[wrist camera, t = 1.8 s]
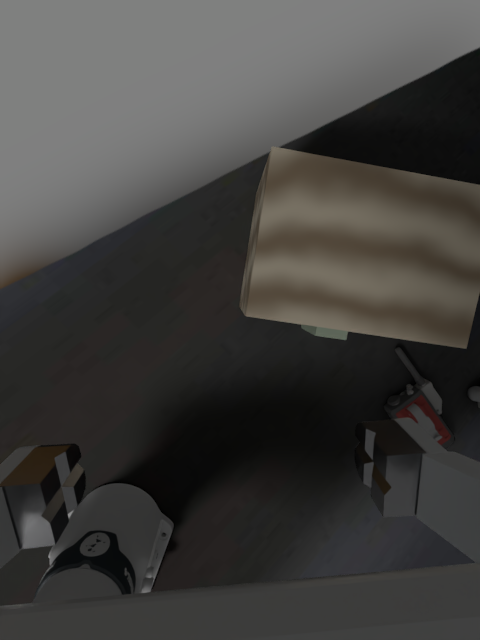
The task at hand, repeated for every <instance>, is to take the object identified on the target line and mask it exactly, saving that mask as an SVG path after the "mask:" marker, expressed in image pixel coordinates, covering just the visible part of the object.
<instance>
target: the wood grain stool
mask: <svg viewBox="0 0 480 640" xmlns="http://www.w3.org/2000/svg"><path fill="white" fill-rule="evenodd" d="M479 293H480V185H477V184H472V183H467V182H461V181H456V180H450V179H445V178H440V177H434V176H429V175H423V174H418V173H413V172H407V171H402V170H396V169H391V168H386V167H380V166H375V165H369V164H364V163H359V162H353V161H348V160H342V159H337V158H332V157H326V156H321V155H315V154H310V153H305V152H299V151H294V150H288V149H283V148H278V147H272V148H271V151H270V154H269V157H268V160H267V163H266V166H265V169H264V172H263V175H262V178H261V181H260V184H259V187H258V190H257V193H256V199H255V206H254V213H253V219H252V226H251V232H250V239H249V245H248V252H247V258H246V265H245V272H244V278H243V285H242V291H241V298H240V304H239V307H240V308H241V310H242V311H243V313H244V314H245V316H248V317H255V318H261V319H268V320H275V321H282V322H289V323H295V324H302V325H309V326H316V327H322V328H329V329H336V330H343V331H349V332H356V333H363V334H370V335H376V336H383V337H390V338H397V339H404V340H410V341H417V342H424V343H431V344H437V345H444V346H451V347H458V348H464V349H466V348H467V344H468V340H469V335H470V331H471V327H472V323H473V319H474V314H475V310H476V306H477V302H478V297H479Z"/></svg>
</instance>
